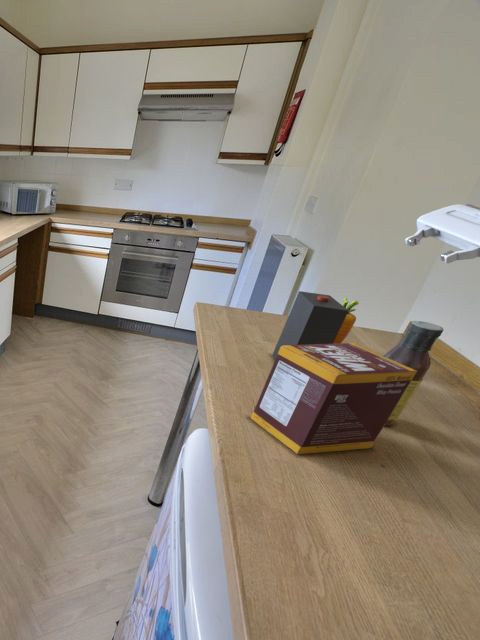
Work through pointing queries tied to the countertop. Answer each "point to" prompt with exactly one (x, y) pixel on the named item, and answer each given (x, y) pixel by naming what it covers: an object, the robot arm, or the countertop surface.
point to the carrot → (346, 322)
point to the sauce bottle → (413, 358)
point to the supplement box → (330, 396)
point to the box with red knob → (312, 321)
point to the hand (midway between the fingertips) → (424, 250)
